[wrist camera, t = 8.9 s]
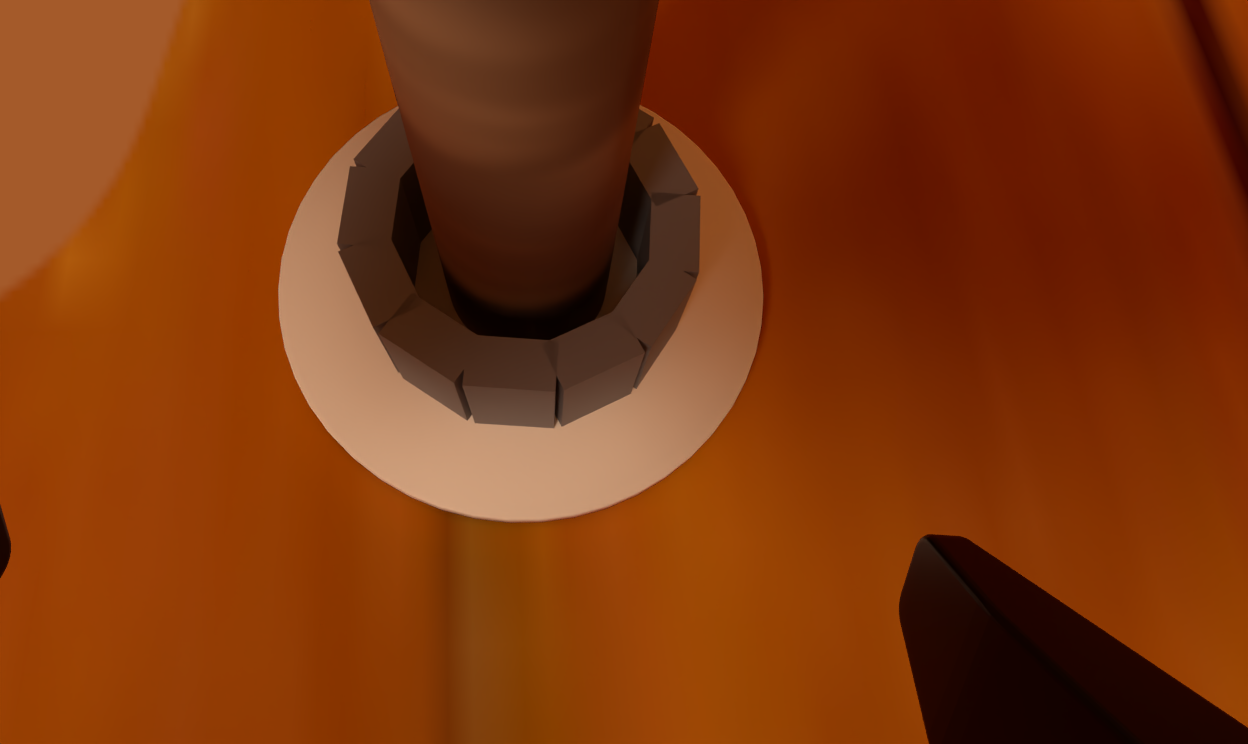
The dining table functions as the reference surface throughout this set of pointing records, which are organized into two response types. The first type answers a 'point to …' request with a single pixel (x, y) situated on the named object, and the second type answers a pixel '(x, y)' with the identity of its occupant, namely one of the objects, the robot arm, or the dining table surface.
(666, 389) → the cup bracket
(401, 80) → the brown tapered rod
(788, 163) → the dining table surface
